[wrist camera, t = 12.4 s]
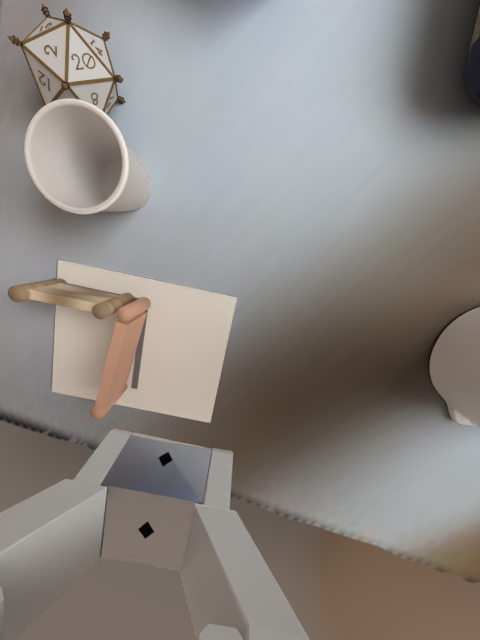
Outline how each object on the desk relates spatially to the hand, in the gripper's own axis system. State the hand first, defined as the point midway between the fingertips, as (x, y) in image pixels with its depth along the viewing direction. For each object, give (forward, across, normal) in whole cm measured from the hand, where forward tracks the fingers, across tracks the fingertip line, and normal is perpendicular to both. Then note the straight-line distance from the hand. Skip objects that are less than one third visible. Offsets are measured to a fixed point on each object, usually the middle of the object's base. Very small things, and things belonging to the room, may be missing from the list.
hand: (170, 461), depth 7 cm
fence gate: (+28, -11, -10) cm, 32 cm away
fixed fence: (+28, -17, -4) cm, 33 cm away
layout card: (+29, -10, -10) cm, 32 cm away
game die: (+29, -18, +17) cm, 38 cm away
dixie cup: (+29, -14, +9) cm, 33 cm away
